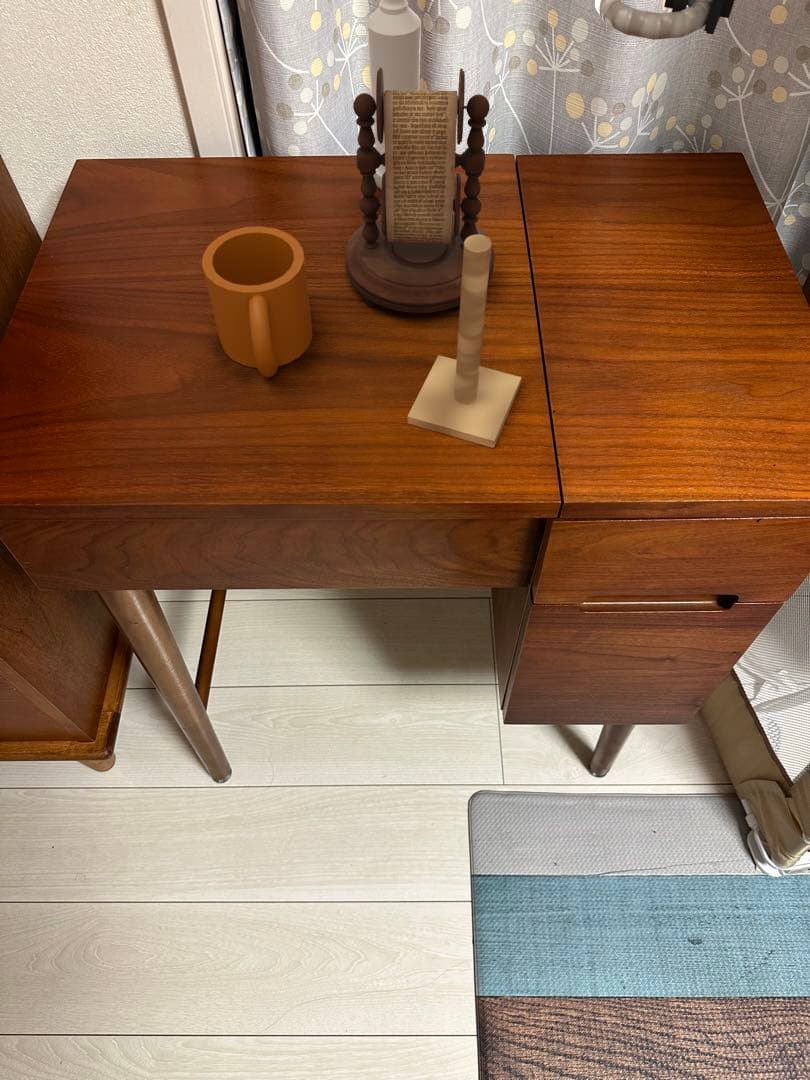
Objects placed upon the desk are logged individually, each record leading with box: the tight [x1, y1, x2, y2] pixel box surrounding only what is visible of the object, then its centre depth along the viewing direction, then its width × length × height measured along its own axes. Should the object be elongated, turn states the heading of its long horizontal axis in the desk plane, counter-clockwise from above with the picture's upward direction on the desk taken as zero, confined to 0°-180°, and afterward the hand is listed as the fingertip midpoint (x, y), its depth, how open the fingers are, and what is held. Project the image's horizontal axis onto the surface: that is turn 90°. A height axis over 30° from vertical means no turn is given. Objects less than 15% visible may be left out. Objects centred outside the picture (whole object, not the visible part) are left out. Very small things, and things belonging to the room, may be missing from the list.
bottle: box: [366, 0, 422, 191], centre depth 80 cm, size 5×5×25 cm
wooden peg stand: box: [407, 235, 522, 449], centre depth 66 cm, size 8×8×17 cm
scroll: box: [344, 67, 495, 314], centre depth 74 cm, size 15×15×20 cm
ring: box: [594, 0, 712, 41], centre depth 60 cm, size 8×8×2 cm
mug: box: [201, 225, 313, 378], centre depth 73 cm, size 9×12×9 cm
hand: (694, 20), depth 60 cm, fingers closed on ring, 2 cm apart
